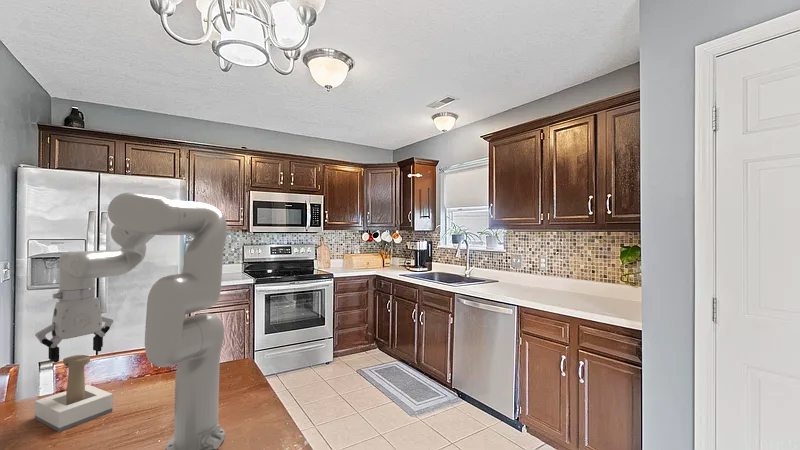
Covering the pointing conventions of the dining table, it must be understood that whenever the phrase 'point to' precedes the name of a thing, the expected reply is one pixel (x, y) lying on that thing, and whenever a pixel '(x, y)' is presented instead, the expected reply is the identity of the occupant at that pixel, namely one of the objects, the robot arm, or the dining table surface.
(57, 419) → the socket stand
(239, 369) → the dining table surface
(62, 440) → the dining table surface
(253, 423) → the dining table surface
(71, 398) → the handle
